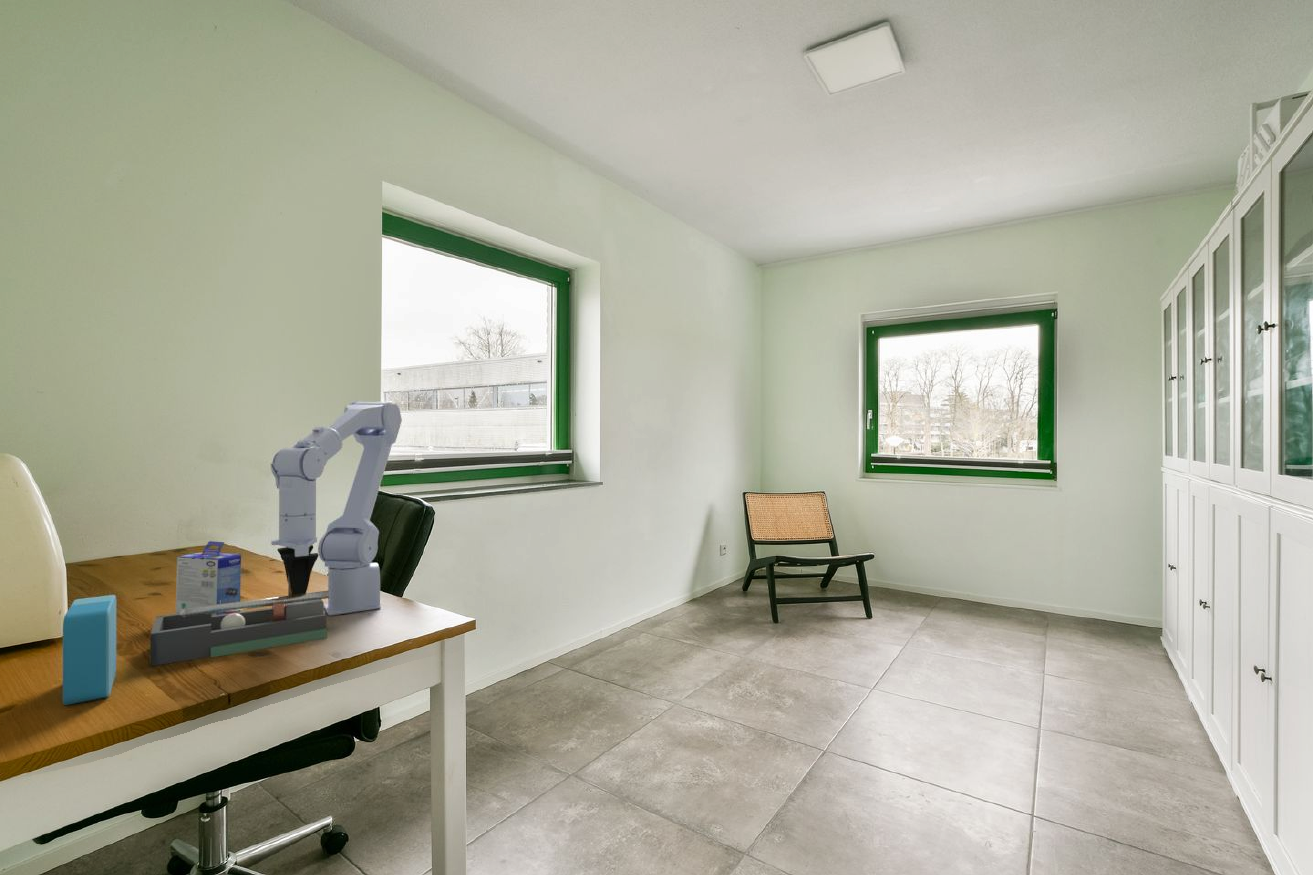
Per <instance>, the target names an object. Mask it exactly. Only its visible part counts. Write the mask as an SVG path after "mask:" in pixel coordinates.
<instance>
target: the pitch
mask: <svg viewBox="0 0 1313 875" xmlns="http://www.w3.org/2000/svg"><path fill="white" fill-rule="evenodd" d="M324 604H325V603H324V601H323V599H319V600H311V601H304V602H296V603H289V604H284V620H282V621H275V622H272V607H267V608H265V607H264V608H260V609H259V608H257V609H253V610H252V609H251V610H243V611H240V612H236V613H237V614H240V615H242V616H243V617H244V619H245V626H241V627H235V628H228V629H221V627H220V625H221V621H222V620H223V619H224V618H225V617H226V616H227V615H229V614H233V613H229V614H221V615H214V616H212V614H208V615H200V616H193V617H185V618H183V617H181V616H180V613H177V614H175V613H172V614H170V613H169V614H163V615H156V616H155V619H154V623H153V625H152V629H151V632H150V667H155V666H161V665H167V664H173V663H177V662H184V661H189V660H191V661H192V660H197V659H203V658H208V657H210V658H216V657H222V656H227V655H228V656H229V655H235V654H240V653H245V652H250V651H251V652H252V651H257V650H263V649H270V648H274V647H281V646H282V647H283V646H286V645H293V644H299V643H305V642H304V641H306V642H310V641H311V642H312V641H316V640H323V639H327V638H328V628H327V623H328V622H327V615H328V614H326V613H325V612H324V611H325V610H324V609H325V608H324Z"/></svg>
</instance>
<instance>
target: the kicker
mask: <svg viewBox="0 0 1313 875" xmlns="http://www.w3.org/2000/svg"><path fill="white" fill-rule="evenodd" d="M287 584H288V585H287V586H288V587H287V588H288V589H287V590H288V591H287V592H288V594H287V595H283V596H282V595H281V596H275V597H268V598H267V597H266V598H260V599H259V598H258V599H251V600H243V601H242V600H241V601H240V602H234V603H227V604H219V605H211V606H203V607H195V608H188V609H183V610H181V611H180V616H181V617H183V618H185V617H193V616H200V615H208V614H215V613H222V612H230V611H237V610H240V611H242V610H243V611H246V610H250V609H251V610H252V609H259V608H265V607H267V608H268V607H271V608H272V622H275V621H282V620H284V606H285V604H289V603H296V602H304V601H311V600H319V599H322V600H324V599H325V600H326V599H328V598H329V590H328V589H327V590H320V591H312V592H306V593H302V594H294V595H293V594H292V591H291V587H290V582H289V576H288V581H287Z"/></svg>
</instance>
